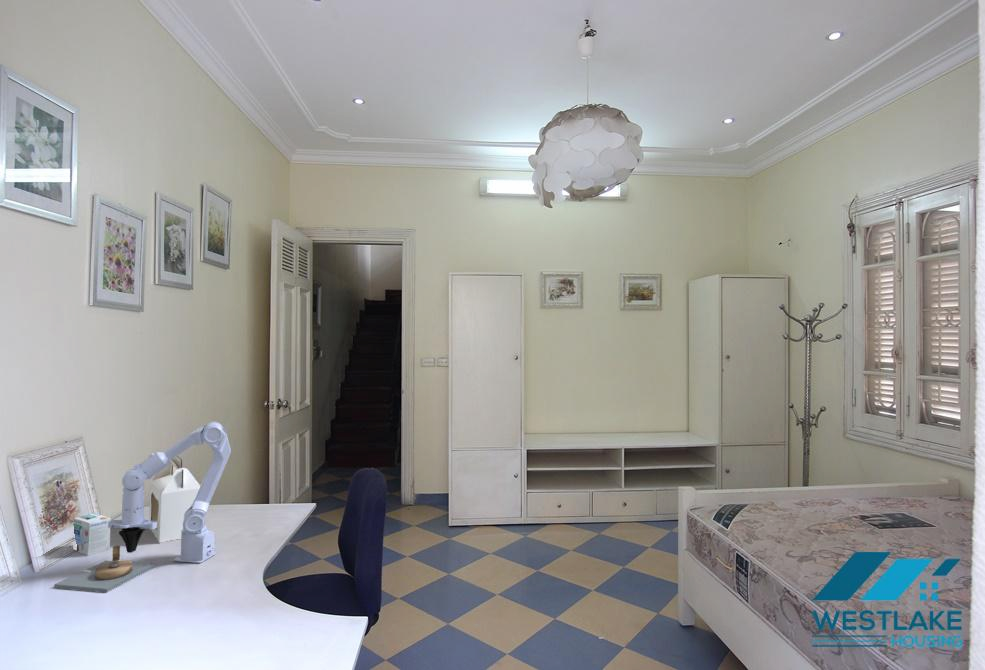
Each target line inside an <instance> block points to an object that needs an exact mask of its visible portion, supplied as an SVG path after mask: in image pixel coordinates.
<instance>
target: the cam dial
mask: <svg viewBox="0 0 985 670" xmlns="http://www.w3.org/2000/svg"><path fill="white" fill-rule="evenodd" d="M120 553H121V545H120V544H117V545H113V546H112V560H111V561H113V562H111V563H107V564H104V565H101V566H99V567H98V568H96V570H95V578H97V579H101V580H106V579H114V578H118V577H121V576H124V575H126V574H128V573H130V572H131V571H132V563H133V562H132V561H130V560H129V561H128V560H120V556H121V554H120Z"/></svg>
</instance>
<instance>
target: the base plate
mask: <svg viewBox="0 0 985 670" xmlns="http://www.w3.org/2000/svg"><path fill="white" fill-rule="evenodd" d="M111 562H113V561H112V560H104V561H102V562H100V563H97V564H95V565H93V566H90V567H88V568H87V569H84V570H82V571H79V572H78V573H76V574H73V575H72V576H69V577H67V578H65V579H63V580H60V581H58V582H55V583H54V585H53V588H54V587H57V588H56V589H62V588H67V589H66V590H73V589H76V590H77V591H84V590H87V592H95V591H98V593H106V592H107V593H109V592H111V591H113V590H115V589H116V588H118V587H120V586H122V585H124V584H126V583H128V582H130V581H131V580H130V579H132V578H133V579H135V578H137V577H138V575H139V576H141V575H143V574H145V573H147V572H149V571H150V570H152V569H154V568H155V564H153V563H143V562H141V563H140V562H132V571H131V572H130V573H128V574H126V575H124V576H121V577H118V578H114V579H106V580H101V579H97V578H95V570H96V568H98V567H99V566H101V565H104V564H107V563H111ZM148 570H149V571H148ZM146 571H147V572H146ZM144 572H145V573H144ZM142 573H143V574H142ZM140 574H141V575H140ZM136 576H137V577H136ZM134 577H135V578H134ZM133 579H132V580H133ZM129 580H130V581H129ZM127 581H128V582H127ZM125 582H126V583H125ZM123 583H124V584H123ZM121 584H122V585H121ZM119 585H120V586H119ZM117 586H118V587H117ZM115 587H116V588H115ZM114 588H115V589H114ZM112 589H113V590H112ZM110 590H111V591H110ZM108 591H109V592H108Z"/></svg>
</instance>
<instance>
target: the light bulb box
mask: <svg viewBox="0 0 985 670" xmlns="http://www.w3.org/2000/svg"><path fill="white" fill-rule="evenodd" d="M109 521H112V518H111V517H108V516H105V515H103V514H99V513H96V512H95V513H93V512H92V513H90V514H87V515H82V516H77V517H74V518H73V524H72V525H73V526H74V534H75V540H76V544H77V551H78V552H77V551H76V552H77V553H80V554H82V555H84V556H87V557H89V556H93V555H95V554H99V553H103V552H105V551H106V550H107V551H110V550H109V549H111V548H110V547H111V545H110V544H111V528H108V522H109Z"/></svg>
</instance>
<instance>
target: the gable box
mask: <svg viewBox="0 0 985 670" xmlns="http://www.w3.org/2000/svg"><path fill="white" fill-rule="evenodd" d="M200 486H201V484H200V483H199V482H198V481H197V480H196V478H195V476H194V475H193V474H192V473H191V471H190V470H189V469H188V468H186V467H183V459H182V458H181V457H179V455H177V456H176V457H174V458H172V459H171V460H170V463H169V466H168V467H166V468H165V469H163V470H162V471H161V472H159V473H158V474H156V475H155V476H154V478H153V479H152V480H151V481H150V486H149V487H150V489H149V515H148V516H149V519H148V520H149V521H154V522H157V528H155V529H153V530H152V531H151V532H152V534H153V533H154V534H153V535H155V536H154V537H155V539H156V538H157V539H156V540H158V541H157V542H158V544H161V543H160V542H164V543H166V542H165V541H169V542H171V541H170V540H174V541H177V540H176V539H179V540H181V539H180V538H181V530H182V529H183V521H184V514H185V512H186V511H187V510H188V509H189V508H190V507H191V505H192V503H193V501H194V500H195V498H196V495H197V493H198V491H199V489H200Z"/></svg>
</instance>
